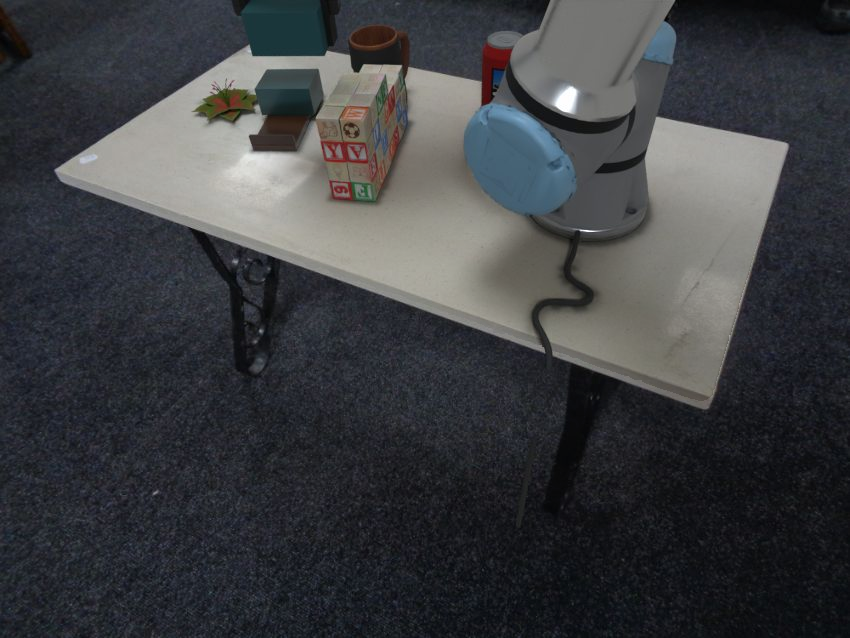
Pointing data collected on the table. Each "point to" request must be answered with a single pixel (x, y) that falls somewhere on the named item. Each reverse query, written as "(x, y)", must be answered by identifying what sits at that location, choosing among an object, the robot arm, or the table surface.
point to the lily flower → (227, 102)
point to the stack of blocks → (362, 130)
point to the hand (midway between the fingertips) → (294, 41)
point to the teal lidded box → (286, 107)
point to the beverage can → (496, 62)
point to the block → (285, 28)
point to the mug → (379, 48)
